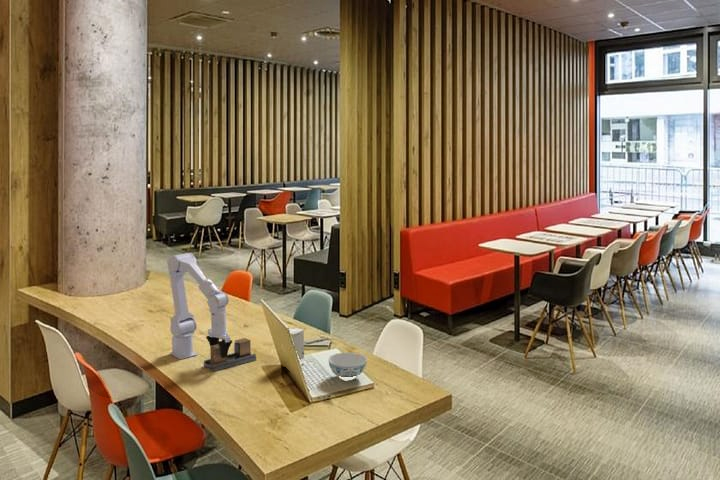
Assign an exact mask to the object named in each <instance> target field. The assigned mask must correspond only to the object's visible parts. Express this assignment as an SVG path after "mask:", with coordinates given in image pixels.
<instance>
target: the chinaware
mask: <svg viewBox="0 0 720 480" xmlns="http://www.w3.org/2000/svg"><path fill="white" fill-rule="evenodd" d="M327 360H328V361H327V362H328V364H329V368H330V370H331V371H332V373H333V374H334V375H335V376H336V377H338V376H341V377H353V376H357V375H359V376H360V375H361V374H362V373H363V372H364V370H365V369H366V366H367V363H368V358H367V357H366V356H365V355H362V354H360V353H356V352H339V353H335V354H332V355H330V356H329V357H328V359H327ZM357 377H358V376H357Z"/></svg>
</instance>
